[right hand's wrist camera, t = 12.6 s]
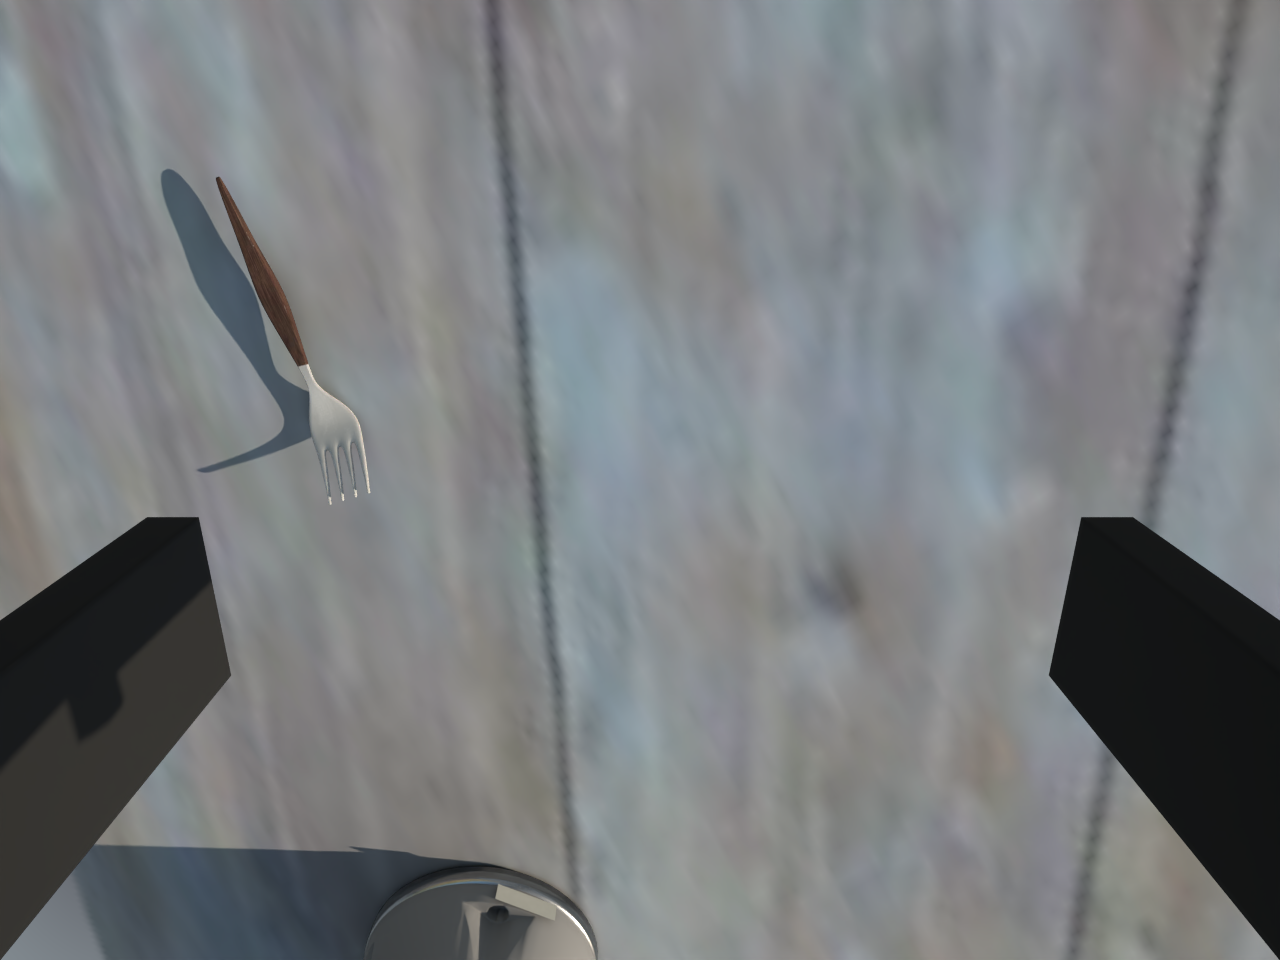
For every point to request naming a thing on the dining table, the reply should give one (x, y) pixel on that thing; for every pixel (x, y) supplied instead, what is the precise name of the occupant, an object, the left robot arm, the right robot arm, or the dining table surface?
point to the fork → (300, 359)
